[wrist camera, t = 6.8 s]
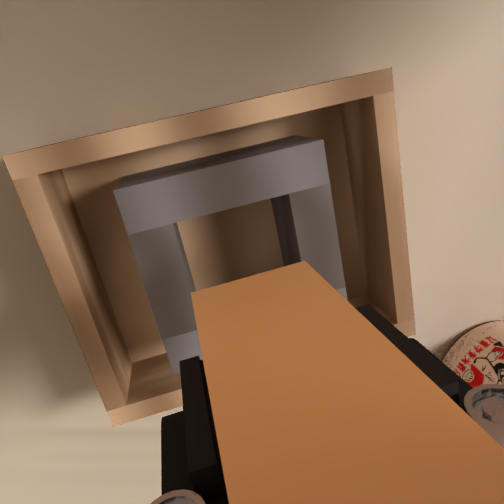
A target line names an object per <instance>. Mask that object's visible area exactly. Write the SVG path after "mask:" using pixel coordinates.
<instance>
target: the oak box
mask: <svg viewBox="0 0 504 504" xmlns="http://www.w3.org/2000/svg"><path fill="white" fill-rule="evenodd" d="M2 157H3V160H4V162H5V164H6V167H7V169H8V172H9V174H10V177H11V179H12V181H13V184H14V186H15V189H16V191H17V194H18V196H19V199H20V201H21V203H22V206H23V208H24V211H25V213H26V216H27V218H28V220H29V223H30V225H31V228H32V230H33V233H34V235H35V238H36V240H37V242H38V245H39V247H40V250H41V252H42V255H43V257H44V259H45V262H46V264H47V267H48V269H49V272H50V274H51V277H52V279H53V281H54V284H55V286H56V289H57V291H58V294H59V296H60V299H61V301H62V303H63V306H64V308H65V311H66V313H67V316H68V318H69V320H70V323H71V325H72V328H73V330H74V333H75V335H76V338H77V340H78V342H79V345H80V347H81V350H82V352H83V355H84V357H85V359H86V362H87V364H88V367H89V369H90V372H91V374H92V377H93V379H94V381H95V384H96V386H97V389H98V391H99V394H100V396H101V398H102V401H103V403H104V406H105V408H106V411H107V413H108V416H109V418H110V420H111V423H112V425H113V427H114V426H117V425H121V424H124V423H127V422H130V421H134V420H137V419H140V418H144V417H147V416H150V415H153V414H157V413H160V412H163V411H166V410H170V409H173V408H176V407H179V406H183V400H182V388H181V376H180V364H179V361H182V360H185V359H188V358H191V357H195V356H198V355H199V357H200V360H203V358H202V352H201V347H200V341H199V336H198V330H197V325H196V319H195V314H194V308H193V303H192V297H191V293H192V292H196V291H199V290H203V289H206V288H210V287H213V286H217V285H221V284H224V283H228V282H231V281H235V280H238V279H242V278H245V277H249V276H252V275H256V274H259V273H263V272H266V271H270V270H273V269H277V268H281V267H284V266H288V265H291V264H295V263H298V262H302V261H306V262H307V263H308V264H309V265H310V266H311V267H312V268H313V269H314V270H315V271H316V272H317V273H318V274H319V275H320V276H322V277H323V278H324V279H325V280H326V281H327V282H328V283H329V284H330V285H331V286H332V287H333V288H334V289H335V290H336V291H337V292H338V293H340V294H341V295H342V296H343V297H344V298H345V299H346V300H347V301H348V302H349V303H350V304H351V305H352V306H353V307H354V308H356V307H359V306H362V305H366V304H369V305H370V306H372V307H373V308H374V309H375V310H376V311H377V312H378V313H380V314H381V315H382V316H383V317H384V318H385V319H387V320H388V321H389V322H390V323H391V324H392V325H394V326H395V327H396V328H397V329H398V330H399V331H400V332H402V333H403V334H404V335H405V336H406V337H408V336H411V335H414V334H416V332H415V321H414V310H413V298H412V287H411V276H410V265H409V254H408V243H407V232H406V221H405V210H404V199H403V188H402V177H401V166H400V155H399V144H398V133H397V122H396V111H395V100H394V89H393V78H392V68H388V69H383V70H378V71H374V72H369V73H364V74H360V75H355V76H350V77H346V78H341V79H337V80H333V81H328V82H324V83H319V84H315V85H311V86H306V87H302V88H297V89H293V90H289V91H284V92H280V93H275V94H271V95H267V96H262V97H258V98H253V99H249V100H245V101H240V102H236V103H231V104H227V105H223V106H218V107H214V108H209V109H205V110H201V111H196V112H192V113H187V114H183V115H179V116H174V117H170V118H165V119H161V120H157V121H152V122H148V123H143V124H139V125H135V126H130V127H126V128H121V129H117V130H113V131H108V132H104V133H99V134H95V135H91V136H86V137H82V138H77V139H73V140H69V141H64V142H60V143H55V144H51V145H47V146H42V147H38V148H34V149H30V150H26V151H21V152H17V153H13V154H9V155H5V156H2Z"/></svg>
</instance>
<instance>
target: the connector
mask: <svg viewBox="0 0 504 504" xmlns="http://www.w3.org/2000/svg"><path fill="white" fill-rule="evenodd" d="M191 297H192V303H193V308H194V314H195V319H196V325H197V330H198V336H199V341H200V347H201V352H202V358H203V363H204V369H205V374H206V380H207V385H208V391H209V396H210V402H211V407H212V413H213V418H214V424H215V429H216V435H217V440H218V446H219V451H220V457H221V462H222V468H223V473H224V479H225V484H226V490H227V495H228V501H229V504H504V448H503V447H502V446H501V445H500V444H499V443H497V442H496V441H495V440H494V439H493V438H492V437H491V436H490V435H489V434H488V433H487V432H486V431H485V430H484V429H483V428H482V427H481V426H479V425H478V424H477V423H476V422H475V421H474V420H473V419H472V418H471V417H470V416H469V415H468V414H467V413H466V412H465V411H464V410H463V409H461V408H460V407H459V406H458V405H457V404H456V403H455V402H454V401H453V400H452V399H451V398H450V397H449V396H448V395H447V394H446V393H444V392H443V391H442V390H441V389H440V388H439V387H438V386H437V385H436V384H435V383H434V382H433V381H432V380H431V379H430V378H429V377H428V376H426V375H425V374H424V373H423V372H422V371H421V370H420V369H419V368H418V367H417V366H416V365H415V364H414V363H413V362H412V361H411V360H409V359H408V358H407V357H406V356H405V355H404V354H403V353H402V352H401V351H400V350H399V349H398V348H397V347H396V346H395V345H394V344H393V343H391V342H390V341H389V340H388V339H387V338H386V337H385V336H384V335H383V334H382V333H381V332H380V331H379V330H378V329H377V328H376V327H375V326H373V325H372V324H371V323H370V322H369V321H368V320H367V319H366V318H365V317H364V316H363V315H362V314H361V313H360V312H359V311H358V310H356V309H355V308H354V307H353V306H352V305H351V304H350V303H349V302H348V301H347V300H346V299H345V298H344V297H343V296H342V295H341V294H340V293H338V292H337V291H336V290H335V289H334V288H333V287H332V286H331V285H330V284H329V283H328V282H327V281H326V280H325V279H324V278H323V277H322V276H320V275H319V274H318V273H317V272H316V271H315V270H314V269H313V268H312V267H311V266H310V265H309V264H308V263H307V262H306V261H302V262H298V263H295V264H291V265H288V266H284V267H281V268H277V269H273V270H270V271H266V272H263V273H259V274H256V275H252V276H249V277H245V278H242V279H238V280H235V281H231V282H228V283H224V284H221V285H217V286H213V287H210V288H206V289H203V290H199V291H196V292H192V293H191Z"/></svg>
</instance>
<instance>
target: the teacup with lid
mask: <svg viewBox="0 0 504 504" xmlns="http://www.w3.org/2000/svg"><path fill="white" fill-rule="evenodd" d="M442 362H443V363H444V364H445V365H446V366H448V367H449V368H450V369H451V370H452V371H454V372H455V373H456V374H457V375H458V376H459V377H461V378H462V379H463V380H464V381H465V382H467V383H468V384H469V385H470V386H471V387H473V388H474V387H477V386H480V385H483V384H502V385H504V321H494V322H489V323H486V324H483V325H480V326H478V327H476V328H474V329H472V330H471V331H469V332H467V333H466V334H465V335H463V336H462V337H461V338H460V339H459V340H458V341H457V342H456V343H455V344H454V345H453V346H452V347H451V348H450V350H449V351H448V353H447V354H446V356H445V357H444V359H443V361H442Z"/></svg>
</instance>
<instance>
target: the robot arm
mask: <svg viewBox="0 0 504 504" xmlns="http://www.w3.org/2000/svg"><path fill="white" fill-rule="evenodd" d="M355 309H356V310H358V311H359V312H360V313H361V314H362V315H363V316H364V317H365V318H366V319H367V320H368V321H369V322H370V323H371V324H372V325H373V326H375V327H376V328H377V329H378V330H379V331H380V332H381V333H382V334H383V335H384V336H385V337H386V338H387V339H388V340H389V341H390V342H391V343H393V344H394V345H395V346H396V347H397V348H398V349H399V350H400V351H401V352H402V353H403V354H404V355H405V356H406V357H407V358H408V359H409V360H411V361H412V362H413V363H414V364H415V365H416V366H417V367H418V368H419V369H420V370H421V371H422V372H423V373H424V374H425V375H426V376H428V377H429V378H430V379H431V380H432V381H433V382H434V383H435V384H436V385H437V386H438V387H439V388H440V389H441V390H442V391H443V392H444V393H446V394H447V395H448V396H449V397H450V398H451V399H452V400H453V401H454V402H455V403H456V404H457V405H458V406H459V407H460V408H461V409H463V410H464V411H465V412H466V413H467V414H468V415H469V416H470V417H471V418H472V419H473V420H474V421H475V422H476V423H477V424H478V425H479V426H481V427H482V428H483V429H484V430H485V431H486V432H487V433H488V434H489V435H490V436H491V437H492V438H493V439H494V440H495V441H496V442H497V443H499V444H500V445H501V446H502V447H503V448H504V385H502V384H483V385H480V386H477V387H474V388H473V387H471V386H470V385H469V384H468V383H467V382H465V381H464V380H463V379H462V378H461V377H459V376H458V375H457V374H456V373H455V372H454V371H452V370H451V369H450V368H449V367H448V366H446V365H445V364H444V363H443V362H442V361H440V360H439V359H438V358H437V357H436V356H435V355H433V354H432V353H431V352H430V351H429V350H427V349H426V348H425V347H424V346H423V345H422V344H420V343H419V342H418V341H417V340H415V339H413V338H407V337H406V336H405V335H404V334H403V333H402V332H400V331H399V330H398V329H397V328H396V327H395V326H394V325H392V324H391V323H390V322H389V321H388V320H387V319H385V318H384V317H383V316H382V315H381V314H380V313H378V312H377V311H376V310H375V309H374V308H373V307H372V306H370V305H369V304H366V305H362V306H359V307H356V308H355ZM179 364H180V376H181V388H182V400H183V411H181V412H177V413H174V414H171V415H168V416H165V417H162V421H161V460H162V496H160V497H159V498H157V499H155V500H154V501H153V502H152V503H151V504H229V501H228V495H227V490H226V484H225V479H224V473H223V468H222V462H221V457H220V451H219V446H218V440H217V435H216V429H215V424H214V418H213V413H212V407H211V402H210V396H209V391H208V385H207V380H206V374H205V369H204V363H203V360H200V357H199V355H198V356H195V357H191V358H188V359H185V360H182V361H179Z"/></svg>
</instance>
